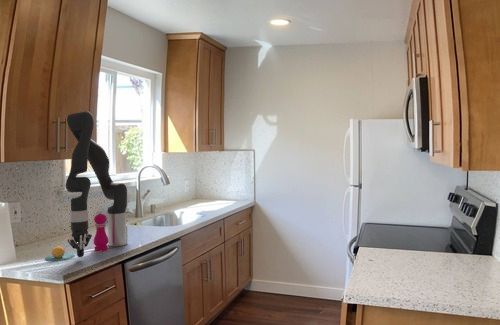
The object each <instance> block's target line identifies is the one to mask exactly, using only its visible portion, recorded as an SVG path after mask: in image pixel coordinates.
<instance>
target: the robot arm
mask: <svg viewBox="0 0 500 325" xmlns="http://www.w3.org/2000/svg"><path fill="white" fill-rule="evenodd" d="M66 123H67V125H68V129H69V130H70V132H71V133H72V135H73V136H74V138H75V140H76V141H77V144H76V145H75V148H74V149H73V151H72V152H71V153H72V154H71V163H70V164H71V165H70V170H69V174H68V175H67V179H66V182H65V188H66V191H67V192H69V193H81V195H80V196H75V197H73V198H71V200H70V231H71V237H70V238H69V239H67V243H68V244H69V246H71V248H72V249H74V250H75V249H76V256H77V258H83V257H84V255H85V248H86V247H88V246H89V243H90V241H91V239H92V237H93V235H92V234H91V233H90V234H89V231H88V230H89V213H88V197H89V192H90V189H91V185H92V184H91V180H90V178H89V177H87V176H78V175H81V174H83V173H84V174H85V173H86V172H87V171H88V163H89V165H90V166H91V168H92V171H93V172H94V175H95V177H97V180H98V182H99V185H100V188H101V191H102V193H103V195H104V198H106V199H108V200H110V201H111V200H112V201H113V203H112V206H111V205H110V206H109V207H107V234H108V235H107V237H108V244H107V246H108V247H109V246H110V247H121V246H125V245H127V243H128V242H129V240H128V224H127V218H126V217H127V216H126V214H127V213H126V212H127V211H126V210H127V207H128V188H127V186H126V185H125V184H124V183H123V182H114V181H113V179H112V178H111V176H110V171H109V170H110V159H109V157H108V155H107V153H106V151H105V149H104V148H103V147H102V145H101V144H98V143H97V142H96V141H94V140H93V139H92V137H93V136H92V135H93V131H94V128H95V127H94V126H95V119H94V115H93V113H91V112H90V111H88V110H87V111H83V110H82V111H79V112H77V111H76V112H73V113H70V114H68V115H67V118H66Z"/></svg>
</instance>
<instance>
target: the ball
mask: <svg viewBox="0 0 500 325" xmlns="http://www.w3.org/2000/svg"><path fill="white" fill-rule="evenodd" d="M64 253H65V249H64V248H63V247H62V246H58V245H57V246H55V247H53V249H52V250H51V255H53V257H55V258H61V257H62V256H63V255H64Z"/></svg>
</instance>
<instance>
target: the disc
mask: <svg viewBox="0 0 500 325" xmlns="http://www.w3.org/2000/svg"><path fill="white" fill-rule="evenodd" d="M73 258H75V253H71V252H68V253H67V252H66V253H64V255H63V256H62V257H61V258H55V257H53V255H52V254H51V255H48V256H46V257H45V258H44V259H45V261H47V262H58V261H59V262H60V261H67V260H69V259H70V260H71V259H73Z"/></svg>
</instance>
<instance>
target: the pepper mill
mask: <svg viewBox="0 0 500 325" xmlns="http://www.w3.org/2000/svg"><path fill="white" fill-rule="evenodd" d="M107 221H108V217H107V216H106V215H105V214H103V211H102V210H99V211H98V213H97V214H96V215H95V216H94V218H93V222H94V223H95V224H94V225H95V228H96V231H95V236H94V237H93V243H92V244H93V245H94V251H95V252H105V251H108V249H109V245H108V235H107V233H106V224H107V223H106V222H107Z"/></svg>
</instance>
